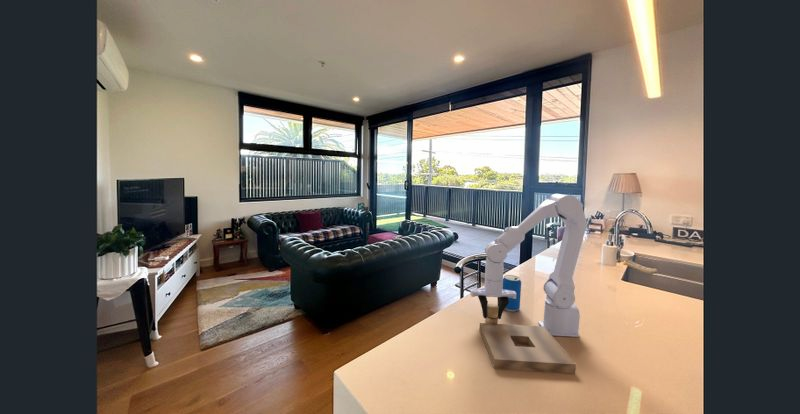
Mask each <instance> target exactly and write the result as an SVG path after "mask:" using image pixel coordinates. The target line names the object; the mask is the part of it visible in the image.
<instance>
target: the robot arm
mask: <svg viewBox="0 0 800 414" xmlns="http://www.w3.org/2000/svg"><path fill="white" fill-rule="evenodd" d="M558 217H559V219H560V220H561V221H562V222H563V224H564V225H565V227H564V230H563V234H562V235H563V236H562V239H561V242H560V246H559V250H558V254H557V258H556V261H555V265H554V269H553V271H552V272H551V273H550V274H549V276H548V279H547V280H546V281H545V282H544V283H543V291H544V293H545V294H546V297H545V299H544V308H543V309H544V311H543V312H544V313H543V321H541V320H540V321H539V320H538V322H537V323H538V324H539V326H544V327H545V328H546V329H547V330H548V331H549V333H550V334H551V335H552V336H553V337H555V336H557V337H573V338H575V337H576V338H579V337H580V334H579V329H580V319H581V318H580V317H581V315H580V311H579V308H578V307H577V305H576V304H575V302H576V295H575V288H576V286H575V283H574V279H573V277H574V274H575V271H576V270H575V269H576V265H577V263H578V259H579V255H580V251H581V247H582V244H583V240H584V236H585V232H586V230H587V225H588V221H587V218H586V215H585V212H584V203H582V202H581V201H580V200H579V199H578V198H577V196H574V195H572V194H563V193H562V194H561V193H554V194H552V195H550V196H549V197H548V198H547V199H544V201H542V203H540V204H539V205H538V207H536V208H535V209H534V210H533V211H532V212H531V213H530V214H529V215H528V216H526V218H524V219H523V221H521V222H520V223H519V224H517V225H516V226H513V225H512V226H510V227H508V226H507V227H505V228H504V232H502V233H501V234H500V235H499V236H498V237H497V238H496V237H495V238H494V239H493V241H491V242H488V243H487V244H486V247H484V252H485V254H486V258H485V267H484V268H485V270H484V287H481V288H470V291H469V292H470V294H469V295H470V296H471V297H472V298H475V297H477V298H478V300H479V303H480V307H481V311H482V317H483V319H485V318H486V317H487V304H489V301H488V298H489V297H490V298H497V306H498V307H499V309H498V320H501V319H502V316H503V314H504V311H505V307H506V306H507V305H508V303H509V300H508V298H513V299H516V292H515V291H509V290H503V289H502V288H503V278H504V269H505V267H504V263H505V262H504V261H505V260H507V259H506V258H507V256H508V253H510V252H511V251H513V250H514V249H515V248H516V247H517V246H519V245H520V244H521V243H522V242H523V241H525V239H526V237H525V236H526V234H527V233H528V232H529V231H531V230H532V229H533V228H535V227H537V225H538V224H540V223H541V222H543V221H544V220H545V219H548V218H549V219H550V218H558ZM487 297H488V298H487Z"/></svg>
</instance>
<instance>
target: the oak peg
mask: <svg viewBox="0 0 800 414" xmlns="http://www.w3.org/2000/svg"><path fill="white" fill-rule="evenodd" d="M498 309H499V307H498V304H496V303H489V302H488V304H487V317H486V318H484V319H485V320H484V323H490V324H499V319H498Z"/></svg>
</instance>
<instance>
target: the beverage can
mask: <svg viewBox="0 0 800 414" xmlns="http://www.w3.org/2000/svg"><path fill="white" fill-rule="evenodd" d="M502 289H503V290H509V291H515V292H516V299H513V298H508V300H509V303H508V305H507V306H506V307H505V309H504V311H505V310H506V311H508V312H517V311H518V310H520V306H521V295H522V294H521V293H522V280H521V278H520V277H519V276H517V275H512V274H506V275H503V288H502Z"/></svg>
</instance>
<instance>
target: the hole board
mask: <svg viewBox="0 0 800 414" xmlns="http://www.w3.org/2000/svg"><path fill="white" fill-rule="evenodd" d="M478 331H479V334H480V335H481V338H482V340H483V341H482V342H483V343H484V346H485V348H486V351H487V353H488V356H489V359H490V360H491V364H492V366H493V369H495V370H497V369H498V370H499V369H500V370H514V371H515V370H516V371H530V372H541V373H542V372H544V373H545V372H546V373H556V374H558V373H559V374H561V373H562V374H574V375H575V374H576V369H577V363H576V362H574V360H573V359H572V358H571V357H570V355H569V354H568V353H567V352H566V351H565V349H564V348H563V346H561V345H560V344H559V342H558V341H557V339H555V336H553V335H551V334H550V333H549V331H548V330H547V329H546V328H545V327H544V326H541V325H539V326H538V325H527V324H526V325H524V324H504V323H498V324H490V323H485V322H479V330H478ZM515 344H516V345H517V344H518V345H528V346H516V345H515Z"/></svg>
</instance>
